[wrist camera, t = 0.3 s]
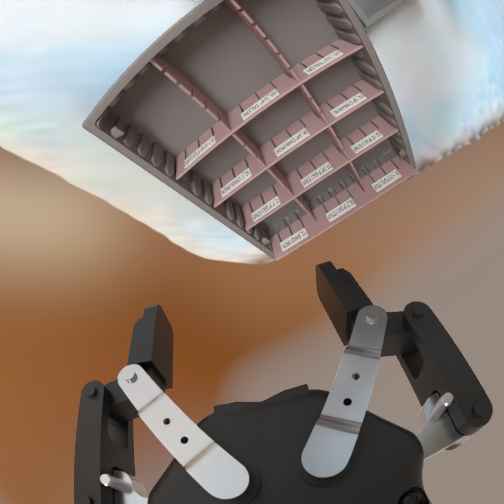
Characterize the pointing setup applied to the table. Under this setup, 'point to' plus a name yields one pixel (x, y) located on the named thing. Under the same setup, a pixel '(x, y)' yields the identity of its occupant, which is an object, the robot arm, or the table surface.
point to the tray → (373, 9)
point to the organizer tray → (262, 117)
